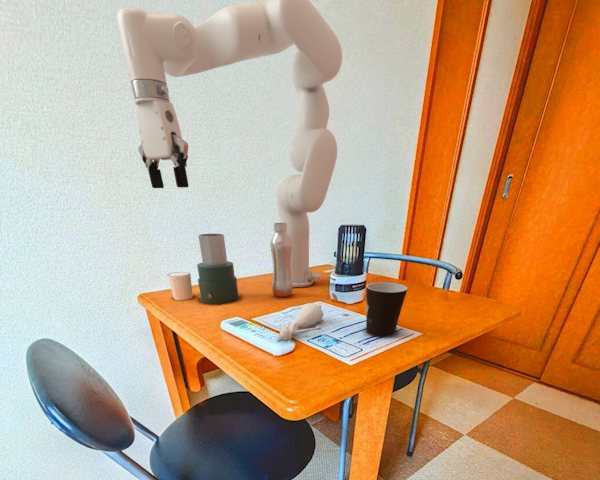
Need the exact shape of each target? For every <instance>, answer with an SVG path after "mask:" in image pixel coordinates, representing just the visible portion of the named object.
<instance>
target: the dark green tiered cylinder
mask: <svg viewBox="0 0 600 480" xmlns="http://www.w3.org/2000/svg"><path fill="white" fill-rule="evenodd" d="M196 268H197V272H198V278H197V282H198V288H199V296H198V298H199V302H200V303H202V304H204V305H205V304H206V305H213V306H214V305H216V306H217V305H218V306H219V305H228V304H232V303H236V302H238V301H239V300H240V299H241V293H240V292H239V290H238V289H239V287H238V278H237V276H236V275H235V268H234V263H233V261H230V260H229V261H228V260H227V264H226V265H221V266H205V265H203V261H202V262H199V263H197V264H196Z"/></svg>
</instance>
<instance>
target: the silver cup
mask: <svg viewBox="0 0 600 480" xmlns="http://www.w3.org/2000/svg"><path fill="white" fill-rule="evenodd" d="M197 237H198V243H199V249H200V254H201V260H202V262H203V265H205V266H221V265H226V264H227V261H228V257H227V249H226V243H225V241H226V240H225V235H224V234H223V233H201V234H198V235H197Z"/></svg>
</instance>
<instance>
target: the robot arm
mask: <svg viewBox="0 0 600 480" xmlns="http://www.w3.org/2000/svg"><path fill="white" fill-rule="evenodd" d="M116 23H117V28H118V32H119V37H120V42H121V46H122V50H123V54H124V59H125V63H126V68H127V71H128V77H129V80H130V85H131V90H132V94H133V98H134V103H135V109H136V119H137V125H138V129H139V130H138V131H139V137H140V141H141V143H140V145H139V146H138V149H137V150H138V153H139V155H140V157H141V158H142V162H143V164H144V165H145V168H146V170H147V171H148V175H149V180H150V183H151V187H152V189H164V187H165V185H164V181H163V177H162V176H163V175H162V172H161V169H160V168H159V166H160V161H161V160H162V161H168V160H169V161H170V160H171V162H172V164H173V165H174V166H173V167H172V168H173V174H174V179H175V185H176V187H177V188H189V181H188V174H187V169H186V168H187V167H188V163H187V161H188V158H189V155H188V153H189V143H188V142H187V141H185V140H184V139H183V137H182V133H181V129H180V124H179V121H178V116H177V113H176V110H175V108H174V104H173V103H172V102H171V99H170V94H169V88H168V84H167V78H166V74H167V75H169V76H171V77H174V78H181V77H186V76H191V75H196V74H201V73H205V72H208V71H211V70H214V69H217V68H222V67H227V66H230V65H234V64H236V63H239V62H244V61H247V60H253V59H258V58H262V57H267V56H272V55H277V54H280V53H282V52H284V51H286V50H287V49H289V48H291V47H292V46H293V45H294V46H295V47H296V50H295V52H294V53H293V55H292V57H291V60H290V75H291V80H292V82H293V86H294V88H295V89H296V92H297V95H298V100H299V113H298V118H297V122H296V123H297V124H296V127H295V130H294V136H293V140H292V142H291V147H290V152H289V161H290V164H291V166H292V168H293V169H294V170H295V171H296V172H299V173H300V174H290V175H287V176H285V177H283V178H282V179H281V180H280V182H279V183H278V185H277V188H276V195H275V196H276V204H277V209H278V215H279V223H286V224H287V231H286V233H287V235H288V236H289V238H290V240H291V242H292V250H291V263H290V270H291V280H292V285H293V288H304V287H309V286H311V285H313V284H314V280H315V281H321V280H322V274H321V273H319V272H312V269H311V268H310V222H309V217H308V214H309V213H314V212H317V211H318V210H319V209H320V208H321V207H322V205H323V204H324V202H325V200H326V196H327V194H328V190H329V187H330V184H331V180H332V177H333V173H334V171H335V166H336V163H337V159H338V145H337V141H336V137H335V136H334V134H333V132H331V131H330V130H329V129H328V123H329V118H330V105H329V101H328V96H327V94H326V89H325V87H324V84H326V83H328V82H330V81H332V80H333V79H335V78H336V77H337V75H338V74H339V73H340V70H341V67H342V63H343V51H342V46H341V42H340V40H339V37H338V36H337V34H336V33H335V32H334V30H333V29H332V27H331V26H330V25H329V23H328V22H327V21H326V20H325V18H324V17H323V16H322V14H321V13H320V11H319V10H318V9H317V8H316V7H315V5H314V4H313V3H312V2H311V0H259V1H253V2H246V3H239V4H230V5H227V6H225V7H223V8H221V9H219V10H218V11H217V12H215V13H213V15H211V16H210V17H209V18H207V19H205V20H204V21H201V22H200V23H198V24H195V25H193V24H192V22H191V21H190V20H189V19H188V18H187V17H185V16H184V15H181V14H179V13H175V12H147V11H145V10H144V9H141V8H137V7H132V6H131V7H123V8H120V9H119V10H118V11H117V14H116Z"/></svg>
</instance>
